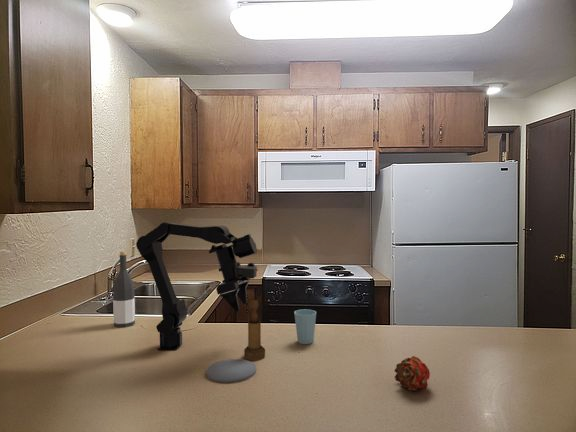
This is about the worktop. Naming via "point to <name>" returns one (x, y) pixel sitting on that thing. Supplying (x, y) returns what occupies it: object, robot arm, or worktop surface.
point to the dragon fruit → (412, 373)
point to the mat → (231, 370)
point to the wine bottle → (123, 296)
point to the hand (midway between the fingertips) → (241, 307)
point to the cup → (305, 325)
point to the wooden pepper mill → (254, 335)
